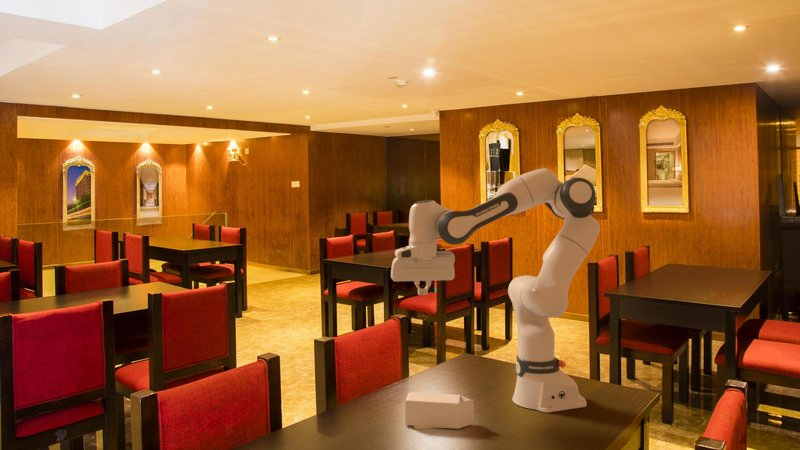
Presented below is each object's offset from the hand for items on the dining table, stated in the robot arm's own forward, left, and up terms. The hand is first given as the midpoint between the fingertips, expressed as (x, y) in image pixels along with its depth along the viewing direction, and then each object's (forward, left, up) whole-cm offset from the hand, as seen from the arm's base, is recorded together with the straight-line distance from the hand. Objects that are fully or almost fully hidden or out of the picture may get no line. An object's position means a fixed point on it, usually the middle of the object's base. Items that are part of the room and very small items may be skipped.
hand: (422, 294), depth 185 cm
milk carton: (+9, +19, -29) cm, 36 cm away
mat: (0, +18, -33) cm, 38 cm away
